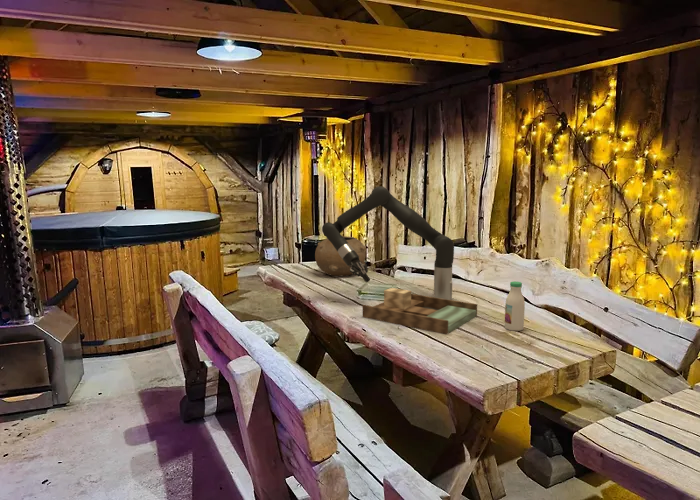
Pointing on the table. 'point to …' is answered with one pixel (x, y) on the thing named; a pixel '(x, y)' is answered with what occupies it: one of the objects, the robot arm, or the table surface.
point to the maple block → (397, 298)
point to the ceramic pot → (337, 257)
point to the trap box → (425, 313)
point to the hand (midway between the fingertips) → (368, 281)
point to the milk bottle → (514, 308)
